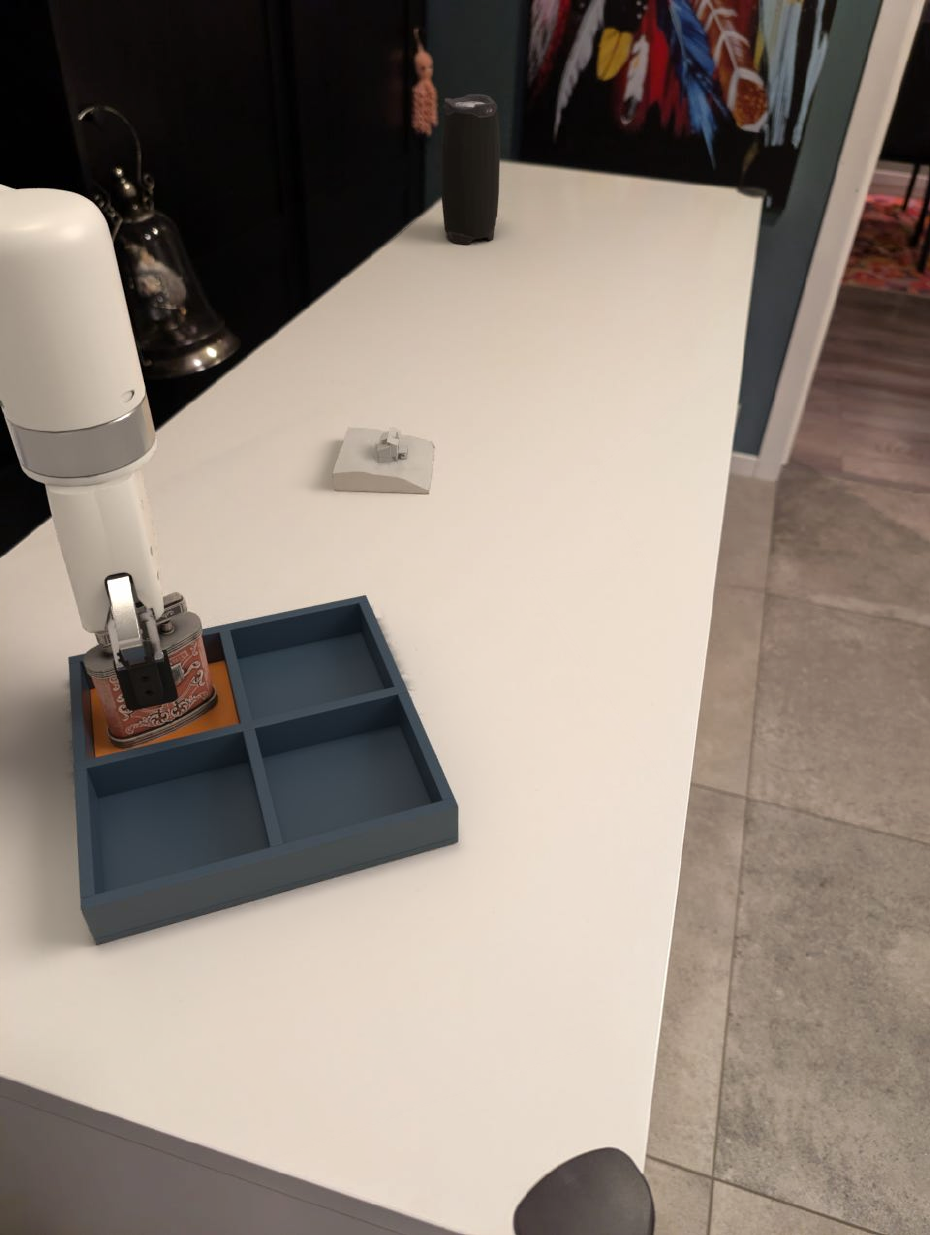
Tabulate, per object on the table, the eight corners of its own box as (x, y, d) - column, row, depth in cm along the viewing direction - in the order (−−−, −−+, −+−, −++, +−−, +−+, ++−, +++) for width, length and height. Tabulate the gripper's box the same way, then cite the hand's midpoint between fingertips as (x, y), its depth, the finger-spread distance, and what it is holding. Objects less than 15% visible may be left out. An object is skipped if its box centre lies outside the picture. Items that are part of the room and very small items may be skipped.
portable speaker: (433, 243, 150) (431, 103, 137) (455, 225, 156) (455, 90, 144) (485, 249, 147) (487, 108, 135) (505, 231, 154) (509, 95, 141)
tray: (80, 692, 72) (68, 656, 70) (368, 629, 78) (366, 594, 76) (95, 945, 56) (80, 910, 54) (458, 842, 62) (458, 806, 59)
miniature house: (450, 491, 94) (450, 457, 92) (336, 503, 92) (333, 469, 90) (429, 432, 103) (429, 400, 101) (325, 442, 101) (321, 410, 99)
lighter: (121, 757, 66) (84, 649, 60) (101, 729, 68) (64, 621, 62) (226, 706, 70) (203, 599, 64) (205, 681, 72) (180, 575, 66)
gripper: (14, 374, 59) (83, 591, 70) (11, 523, 47) (95, 759, 58) (139, 358, 61) (187, 571, 72) (168, 496, 49) (221, 730, 60)
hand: (146, 655), depth 65 cm, fingers open, 9 cm apart
